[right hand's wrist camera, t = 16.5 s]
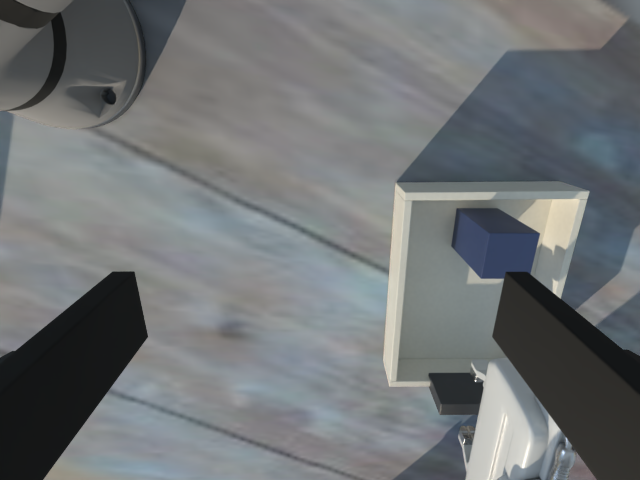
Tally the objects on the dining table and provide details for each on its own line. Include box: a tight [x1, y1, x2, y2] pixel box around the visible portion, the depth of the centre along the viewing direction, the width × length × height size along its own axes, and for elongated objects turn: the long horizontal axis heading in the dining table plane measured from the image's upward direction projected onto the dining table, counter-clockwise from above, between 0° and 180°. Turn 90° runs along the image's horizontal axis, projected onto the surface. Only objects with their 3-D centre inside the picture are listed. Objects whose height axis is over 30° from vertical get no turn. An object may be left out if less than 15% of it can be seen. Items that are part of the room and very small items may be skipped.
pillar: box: [451, 208, 540, 279], centre depth 36 cm, size 4×4×8 cm
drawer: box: [383, 181, 590, 415], centre depth 39 cm, size 24×18×8 cm
